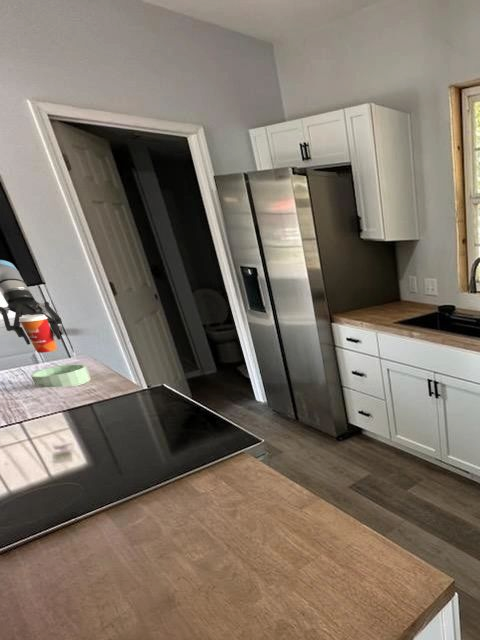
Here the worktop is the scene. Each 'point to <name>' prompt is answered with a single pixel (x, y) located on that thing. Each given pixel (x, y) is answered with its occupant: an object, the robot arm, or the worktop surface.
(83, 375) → the bowl
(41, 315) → the paper cup
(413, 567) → the worktop surface
